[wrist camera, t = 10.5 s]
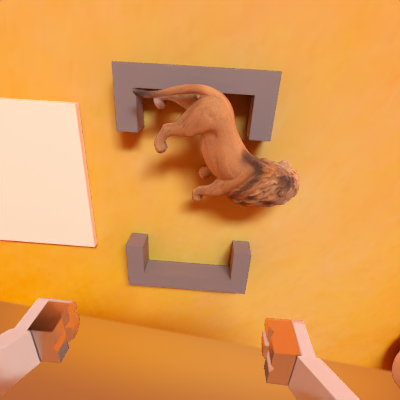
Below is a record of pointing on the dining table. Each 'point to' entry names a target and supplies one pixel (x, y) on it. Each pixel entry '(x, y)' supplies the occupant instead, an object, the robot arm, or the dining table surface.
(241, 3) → the dining table surface
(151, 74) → the grey bracket pair
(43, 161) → the ceramic tile
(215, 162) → the lion figurine
